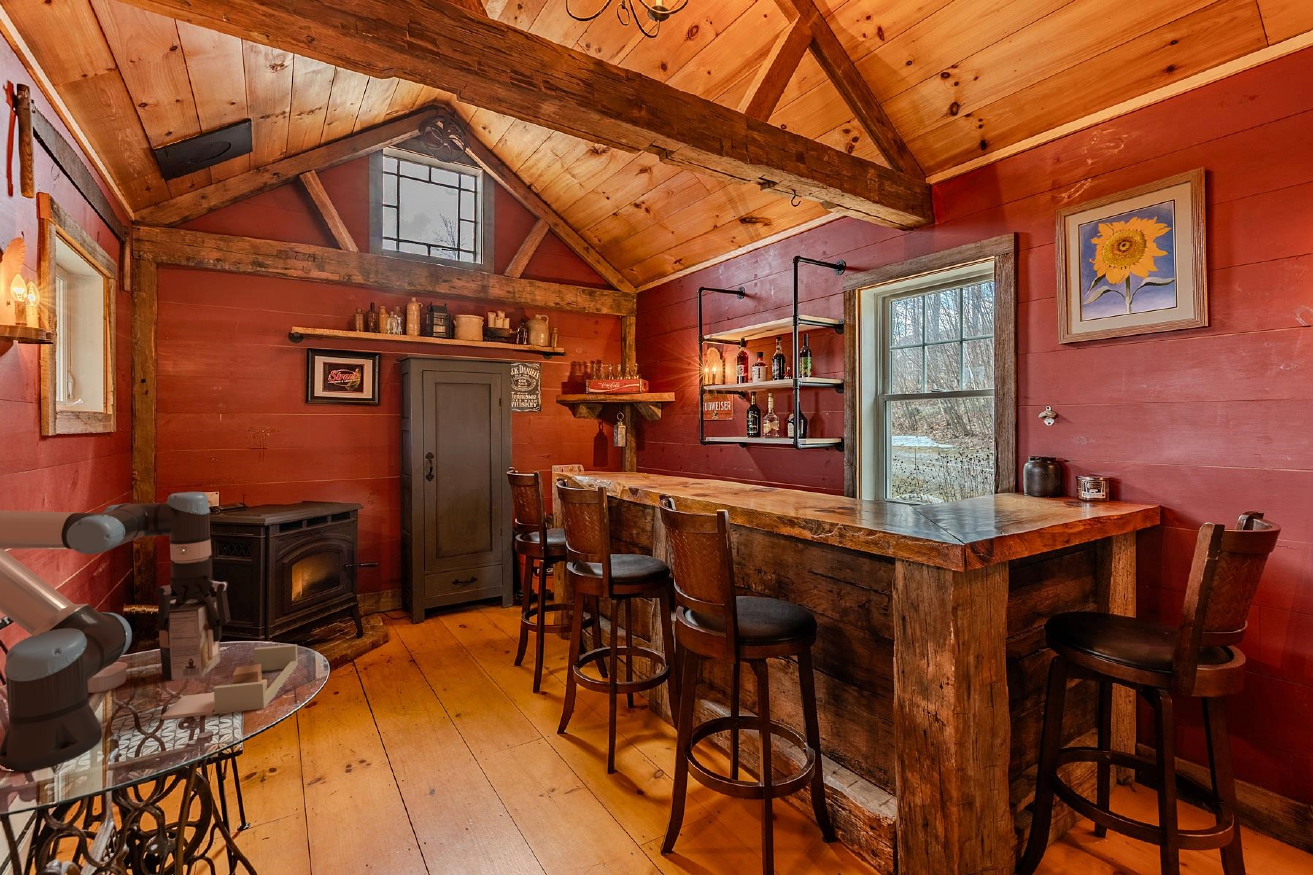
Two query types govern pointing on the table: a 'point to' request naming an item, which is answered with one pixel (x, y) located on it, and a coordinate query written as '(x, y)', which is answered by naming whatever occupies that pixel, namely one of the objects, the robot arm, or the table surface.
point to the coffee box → (190, 640)
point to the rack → (254, 693)
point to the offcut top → (247, 674)
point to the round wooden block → (108, 678)
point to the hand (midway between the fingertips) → (196, 656)
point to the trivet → (191, 706)
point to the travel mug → (166, 648)
